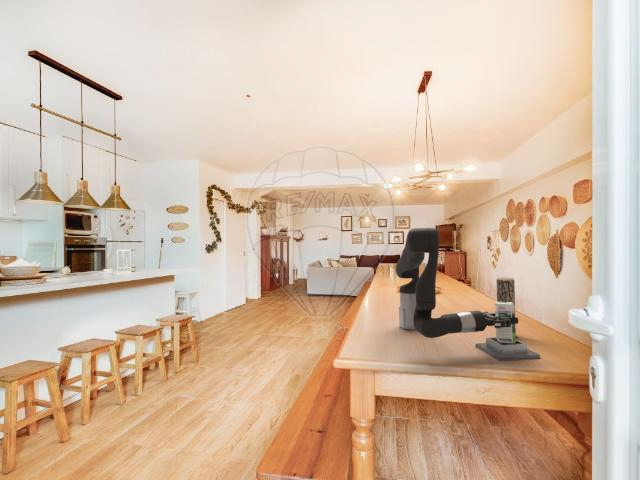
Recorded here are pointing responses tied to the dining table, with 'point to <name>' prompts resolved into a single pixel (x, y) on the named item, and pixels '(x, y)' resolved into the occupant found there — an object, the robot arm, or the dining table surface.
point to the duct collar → (507, 350)
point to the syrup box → (507, 332)
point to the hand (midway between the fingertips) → (509, 317)
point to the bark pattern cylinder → (506, 291)
